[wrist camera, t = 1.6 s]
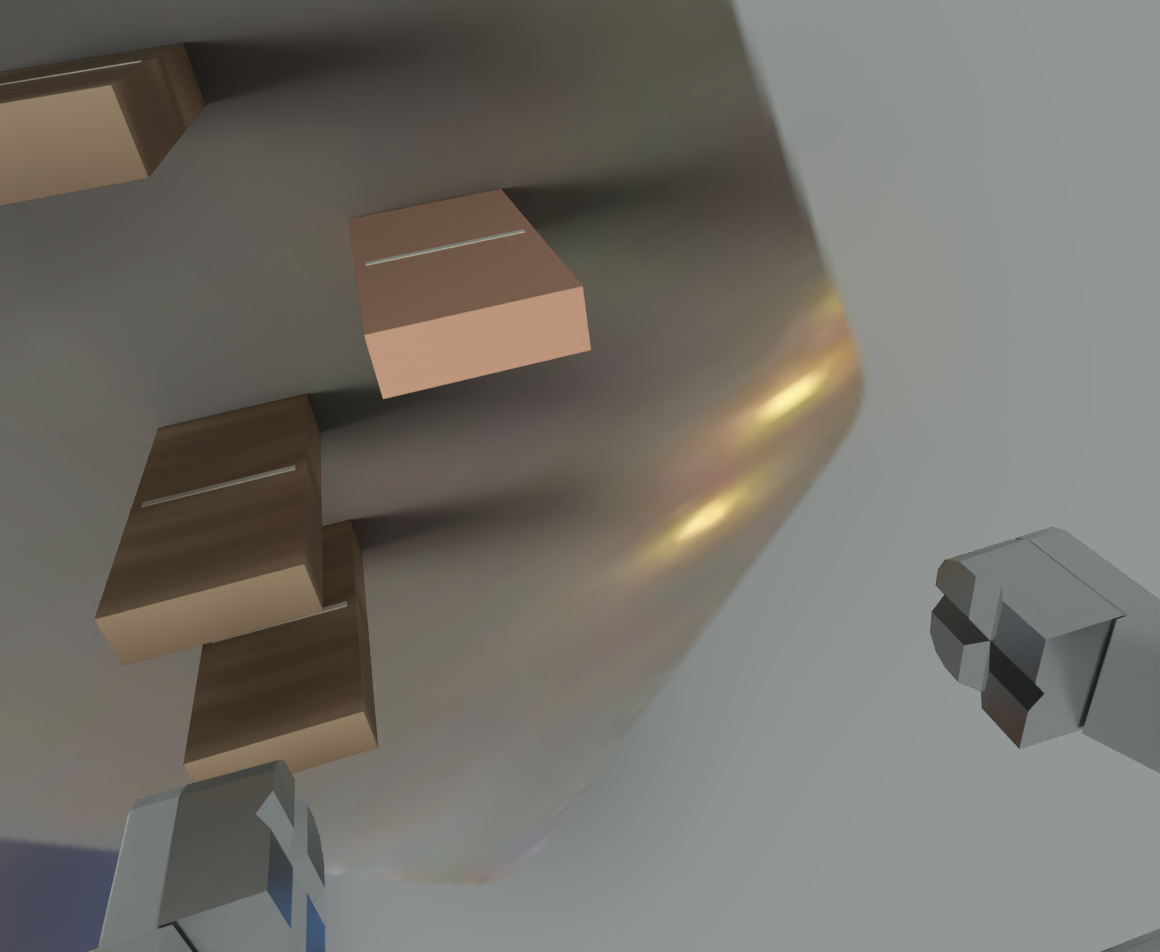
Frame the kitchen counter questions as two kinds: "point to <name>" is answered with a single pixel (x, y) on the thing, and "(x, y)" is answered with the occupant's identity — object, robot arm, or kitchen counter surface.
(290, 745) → the domino
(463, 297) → the domino
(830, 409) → the kitchen counter surface
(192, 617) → the domino
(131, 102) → the domino
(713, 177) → the kitchen counter surface
